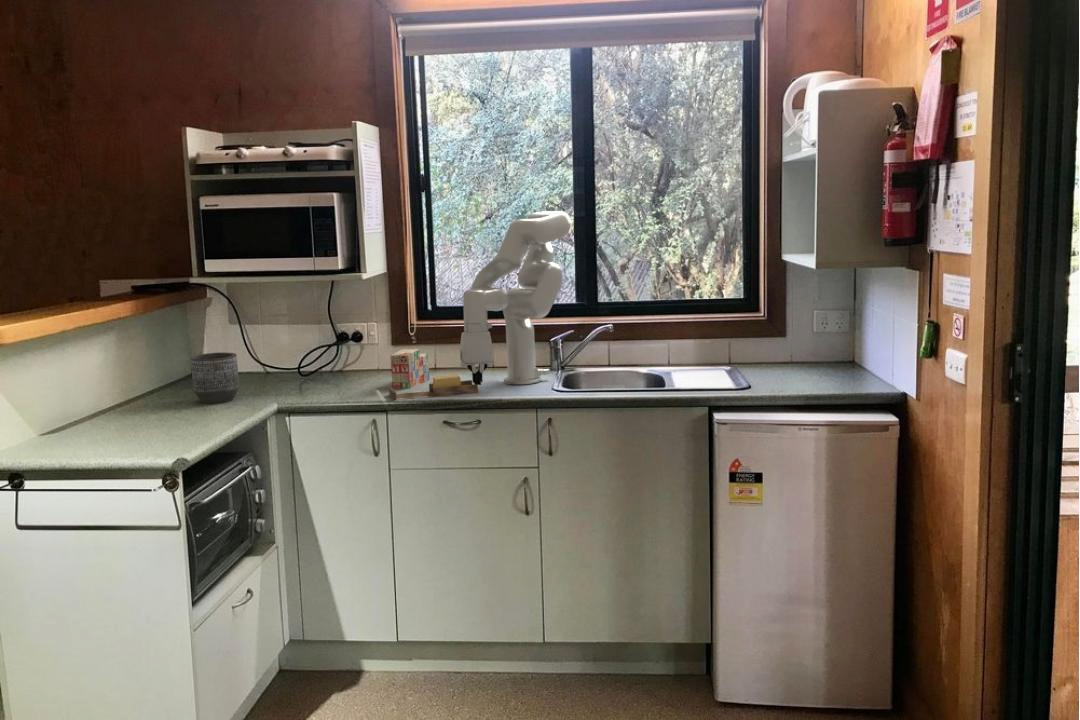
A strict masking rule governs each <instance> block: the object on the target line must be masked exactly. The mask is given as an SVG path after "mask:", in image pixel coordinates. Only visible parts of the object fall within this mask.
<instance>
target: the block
mask: <svg viewBox="0 0 1080 720" xmlns="http://www.w3.org/2000/svg"><path fill="white" fill-rule="evenodd" d="M461 381H462V380H461V377H460V375H458V374H452V375H450V374H449V375H439V376H432V383H433V390H434V388H440V387H451V386H461Z"/></svg>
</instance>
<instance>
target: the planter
mask: <svg viewBox="0 0 1080 720" xmlns="http://www.w3.org/2000/svg"><path fill="white" fill-rule="evenodd" d="M190 369H191V377H192V390H193V392H194V394H195V396H196V397H197V398H198V399H199V401H200V402H201V403H202V404H204V405H205V404H206V405H216V404H218V405H219V404H225V403H229V402H232V401H234V399H235V398H236V395H237V393H238V391H239V389H240V377H239V367H238V356H237V353H235V352H225V351H224V352H210V353H209V352H208V353H202V354H197V355H193V356H190Z"/></svg>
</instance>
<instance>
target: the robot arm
mask: <svg viewBox="0 0 1080 720" xmlns="http://www.w3.org/2000/svg"><path fill="white" fill-rule="evenodd" d="M571 226H572V220H571V218H570V216H569V215H568V214H567V213H566V212H565V211H560V210H559V211H558V210H555V211H537V212H532V213H530V214H529V215H528V216H527V217H526V218H521V219H515V220H514V221H512V222H511V223H510V224H509V225H508V228H507V232H506V233H505V235H504V237H503V240H502V242H501V245H500V247H499V249H498V251H497V254H496V256H495V257H494V258H492V259H491V260H490V261H489V262H488V263H487V264H486V265H485V266H484V267H483V268H482V269H480V271H479V272H478V273H477V275H476V277H475V279H474V280H473V282H472V284H471V287H470V289H466V290H464V292H463V295H462V298H463V299H462V302H463V332H461V336H460V337H461V338H460V344H459V345H460V346H459V348H460V349H459V350H460V351H459V360H460V367H461V368H462V369H463V368H465V369H468V370H469V371H470V372H471V375H472V378H471V380H472V384H477V385H478V386H482V383H483V373H484V371H485V370H486V369H487V368H489V367H492V366H494V354H493V353H494V350H493V341H492V337H491V332H490V331H489V329H492V328H493V324H492V323H489V322H488V311H491V312H492V311H493V312H499V311H502V313H503V317H504V323H505V339H506V361H507V376H506V377H504V378H503V383H505V384H509V385H531V384H536V383H540V382H541V380H542V378H541V376H542V375H544V376H545V375H547V376H548V375H550V369H549V368H539V367H537V366H536V345H535V344H536V342H535V326H534V324H533V322H532V320H531V319H543V318H545V317H546V316H547V315H549V313H550V312H551V309H552V307H553V305H554V303H555V300H556V298H557V296H558V293H559V291H560V290H561V287H562V284H563V280H564V279H563V276H564V275H563V271H562V269H561V267H560V266H559V264H557V263H556V262H552V261H553V258H554V249H553V246H552V243H551V242H554V241H556V240H559V239H562V238H563V237H566V235H567V234H568V233H569V232H570V230H571ZM528 249H529V250H528ZM527 251H528V252H527ZM526 253H527V255H526ZM525 255H526V257H525ZM524 258H525V259H524ZM523 260H524V261H523ZM522 262H523V263H522ZM519 268H520V270H519ZM516 270H519V273H518V275H517V283H518V285H519V287H521V288H513V289H509V290H508V291H507V290H506V289H504V288H502V287H492V286H493V285H494V284H495V283H496V282H497V281H498V280H500V279H501V278H502V277H505V276H507V275H509V274H511V273H513V272H515V271H516ZM476 364H478V366H477V365H476ZM476 366H477V367H478V368H476Z"/></svg>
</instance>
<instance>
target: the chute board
mask: <svg viewBox="0 0 1080 720" xmlns="http://www.w3.org/2000/svg"><path fill="white" fill-rule="evenodd" d="M478 386H479V385H477V384H474V383H473V381H472V379H468V380H467V379H466V380H461V386H451V387H440V388H434V390H433V382H431V383H428V390H427V391H424V390H422V391H413V392H402V393H400V392H399V393H397V392H396V391H395V388H393V386H391V387H390V386H389V387H388V396H389V397H390V398H391V399H392V401H403V400H412V399H423V398H425V399H427V398H434V397H435V398H436V397H443V396H457V395H468V394H469V395H470V394H477V393H479V387H478Z"/></svg>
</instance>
